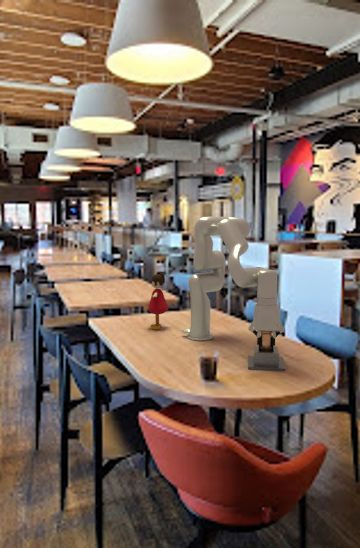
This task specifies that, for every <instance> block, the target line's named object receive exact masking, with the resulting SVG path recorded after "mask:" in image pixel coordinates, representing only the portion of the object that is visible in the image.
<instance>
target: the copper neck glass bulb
mask: <svg viewBox="0 0 360 548" xmlns="http://www.w3.org/2000/svg"><path fill="white" fill-rule="evenodd" d="M272 335H273V334H272V331H261V334H260V336H261V352H271V343H272Z"/></svg>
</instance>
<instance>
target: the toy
mask: <svg viewBox="0 0 360 548" xmlns="http://www.w3.org/2000/svg"><path fill="white" fill-rule="evenodd" d="M165 281H166V278H165V273H164V272H160V273H159V274H158V273H157V274H156V273H155V274H154V275H152V276H151V285H152V288H153V289H154V290H153V291H152V292H151V297H150V300H149V303H148V307H147V310H148V312H150V314H152V315H153V314H154V315H155V317H154V318H155V323H154V324H150V325H149V330H150V329H160V330H161V327H162V324H161V323H160V315H163V314H165V313H166V312H167V311H168V310H169V305H168V302H167V299H166V298H165V295H164V292H163V290H162V286H163V285H164V284H165Z"/></svg>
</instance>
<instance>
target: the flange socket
mask: <svg viewBox="0 0 360 548" xmlns="http://www.w3.org/2000/svg"><path fill="white" fill-rule="evenodd" d="M247 370H250V371H251V370H252V371H254V370H255V371H273V372H274V371H275V372H276V371H277V372H286V364H285V361H284V358H283V356H280V352H279V347H278V346H276V345H275V346H273V348H271V352H261V348H259V345H253V355H247Z"/></svg>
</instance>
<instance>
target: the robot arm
mask: <svg viewBox="0 0 360 548" xmlns="http://www.w3.org/2000/svg"><path fill="white" fill-rule="evenodd" d="M193 227H194V229H193V231H194V232H193V233H194V240H195V241H194V251H193V268H194V269H195V270H196V271H199V273H194V274H192V275H190V277H189V278H188V283H187V284H188V290H189V294H190V327H188V328H181V332H182V333H183V334H187V338H188V339H189V340H192V341H199V342H200V341H201V342H202V341H203V342H204V341H209V340H212V339H214V334H213V333H212V332H211V300H210V298H209V296H208V295H207V293H210V292H218V291H220V290H222V288H223V287H224V282H225V273H226V263H227V268H228V272H229V274H230V276H231V279H232V280H233V281H234V283H235V285H237V286H238V287H240V288H251V287H257V291H256V292H257V293H256V294H257V296H256V297H254V298H253V302H255V305H254V310H253V319H252V320H253V321H252V322H251V324H250V325H249V326H248V327H247V330H248V331H250V332H251V333H252V334H253V335H255V337H257V338H256V339H257V340H256V343H257V345H256V346H259V348H261V331H272V343H271V348H273V346H276V338H277V337H278V336H279V335H280V334H282V333H284V332H285V331H286V329H285V328H284V326H283V324H282V323H281V311H280V306H279V304H278V303H277V302H278V272H277V271H276V270H274V269H266V268H264V267H260V266H259V267H246V268H245V267H244V268H243V266H242V264H241V262H240V259H239V257H241V256H242V255H244V254H245V253H247V251H248V250H249V243H248V242H247V240H246V237H248V236H249V235H250V232H251V226H250V223H249V222H248V221H247V220H246V219H245V218H240V217H233V216H203V217H200V218H198V219H197V220H196V222H195V223H194V226H193ZM212 236H220V237H221V239H222V241H223V243H224V245H225V247H226V248H227V251H228V252H229V256H228V259H227V262H226V256H225V254H224V253H223V252H222V251H221V250H217V249H216V250H214V249H213V248H214V241H213V238H212ZM205 271H206V272H205ZM207 271H209V272H207Z"/></svg>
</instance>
